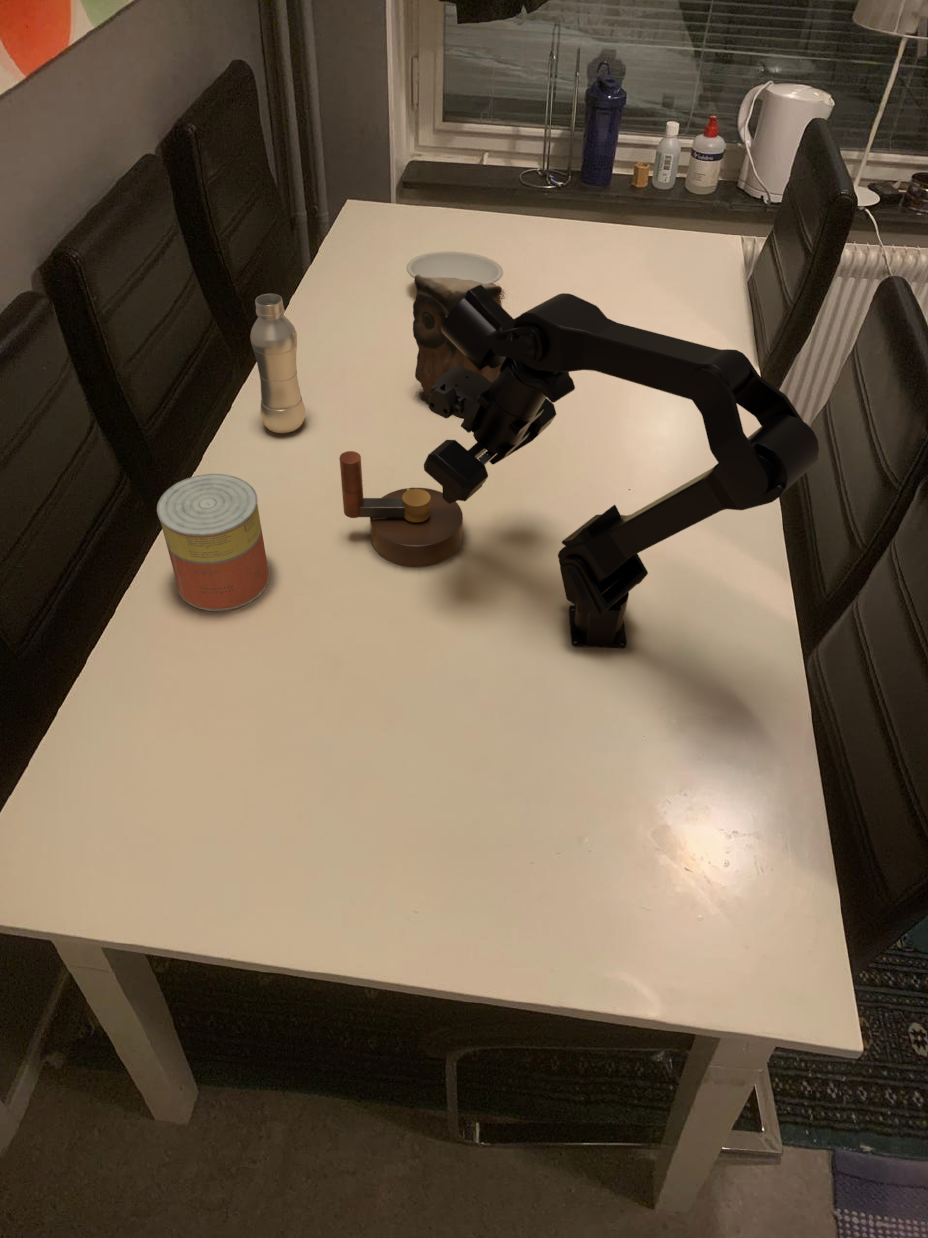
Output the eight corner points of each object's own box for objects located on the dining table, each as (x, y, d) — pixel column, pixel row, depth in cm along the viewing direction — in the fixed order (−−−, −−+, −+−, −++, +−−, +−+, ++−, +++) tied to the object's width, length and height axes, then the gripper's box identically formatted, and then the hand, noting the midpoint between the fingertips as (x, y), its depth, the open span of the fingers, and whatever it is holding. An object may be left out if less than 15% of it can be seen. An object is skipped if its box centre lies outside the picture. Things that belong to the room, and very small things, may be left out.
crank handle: (430, 505, 119) (430, 448, 113) (430, 522, 116) (430, 466, 110) (344, 504, 119) (340, 448, 112) (343, 522, 116) (338, 465, 110)
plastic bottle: (253, 431, 136) (233, 304, 122) (280, 409, 141) (264, 284, 126) (289, 443, 134) (273, 315, 120) (315, 421, 139) (302, 295, 124)
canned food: (284, 559, 116) (273, 483, 108) (246, 619, 109) (230, 543, 100) (203, 542, 118) (186, 466, 110) (160, 600, 111) (138, 523, 102)
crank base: (460, 568, 116) (461, 547, 114) (366, 565, 116) (365, 543, 114) (463, 509, 125) (464, 488, 122) (375, 506, 125) (374, 484, 122)
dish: (400, 308, 165) (399, 281, 161) (414, 273, 175) (413, 247, 171) (496, 317, 163) (498, 290, 160) (505, 281, 173) (507, 255, 170)
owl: (511, 410, 142) (521, 287, 128) (438, 428, 138) (439, 303, 124) (475, 371, 150) (480, 251, 136) (404, 387, 146) (402, 265, 132)
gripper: (507, 312, 104) (464, 402, 117) (406, 388, 94) (371, 477, 106) (582, 375, 103) (529, 458, 116) (488, 458, 93) (442, 539, 106)
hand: (469, 480), depth 111 cm, fingers open, 9 cm apart
